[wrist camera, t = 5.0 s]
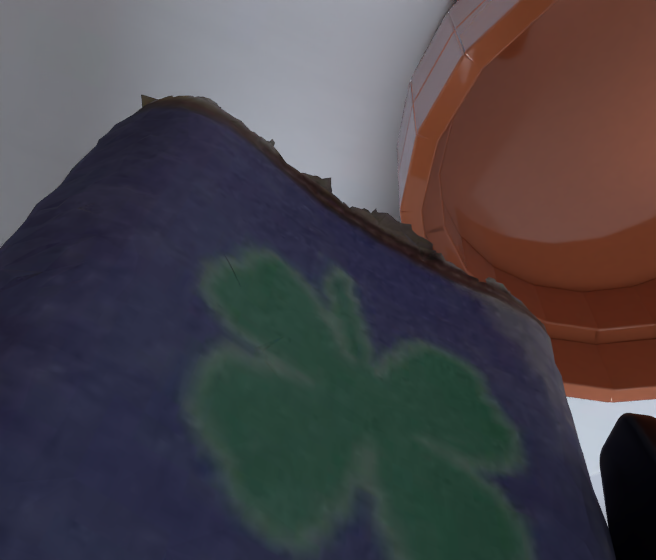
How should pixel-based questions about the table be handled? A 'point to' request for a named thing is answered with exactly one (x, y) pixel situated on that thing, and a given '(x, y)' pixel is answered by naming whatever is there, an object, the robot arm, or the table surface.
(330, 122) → the table surface
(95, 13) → the table surface
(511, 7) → the bowl
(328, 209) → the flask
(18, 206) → the table surface
